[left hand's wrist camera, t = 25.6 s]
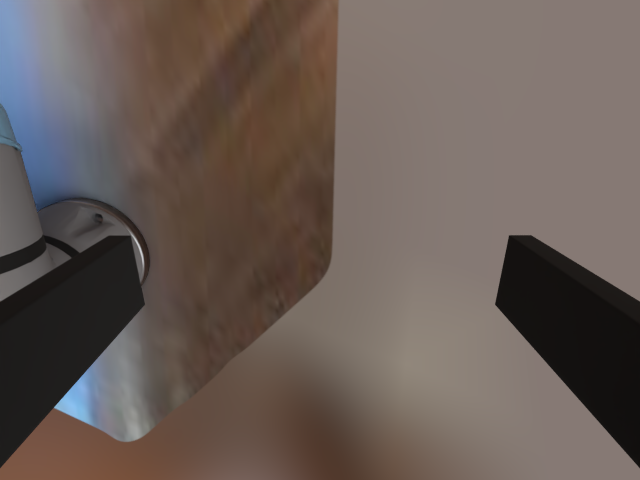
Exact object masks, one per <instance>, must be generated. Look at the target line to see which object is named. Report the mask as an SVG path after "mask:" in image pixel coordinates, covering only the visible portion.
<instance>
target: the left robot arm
mask: <svg viewBox="0 0 640 480" xmlns="http://www.w3.org/2000/svg"><path fill="white" fill-rule="evenodd" d="M21 151H22V147H21V146H20V144H18V143H17V142H16V139H15V136H14V133H13V130H12V127H11V124H10V121H9V118H8V116H7V113H6V111H5V109H4V107H3V106H2V105H1V104H0V468H1V467H2V465H3V464H4V463H5V462H6V461H7V460H8V459H9V457H10V456H11V455H12V454H13V453H14V452H15V451H16V450H17V448H18V447H19V446H20V445H21V444H22V443H23V442H24V441H25V439H26V438H27V437H28V436H29V435H30V434H31V433H32V432H33V430H34V429H35V428H36V427H37V426H38V425H39V424H40V422H41V421H42V420H43V419H44V418H45V417H46V416H47V415H48V413H49V412H50V411H51V410H52V409H53V408H54V407H55V406H56V404H57V403H58V402H59V401H60V400H61V399H62V398H63V397H64V395H65V394H66V393H67V392H68V391H69V390H70V389H71V387H72V386H73V385H74V384H75V383H76V382H77V381H78V380H79V378H80V377H81V376H82V375H83V374H84V373H85V372H86V371H87V369H88V368H89V367H90V366H91V365H92V364H93V363H94V361H95V360H96V359H97V358H98V357H99V356H100V355H101V354H102V352H103V351H104V350H105V349H106V348H107V347H108V346H109V345H110V343H111V342H112V341H113V340H114V339H115V338H116V337H117V335H118V334H119V333H120V332H121V331H122V330H123V329H124V328H125V326H126V325H127V324H128V323H129V322H130V321H131V320H132V319H133V317H134V316H135V315H136V314H137V313H138V312H139V311H140V309H141V308H142V307H143V306H144V305H145V303H144V298H143V293H142V288H141V286H142V284H143V283H144V281H145V279H146V277H147V275H148V271H149V252H148V248H147V245H146V243H145V240H144V238H143V236H142V234H141V233H140V231H139V230H138V229H137V227H136V226H135V225H134V224H133V223H132V221H131V220H130V219H128V218H127V217H126V216H125V215H124V214H123V213H121V212H120V211H118V210H117V209H115V208H113V207H111V206H109V205H107V204H105V203H102V202H100V201H96V200H92V199H85V198H73V199H67V200H63V201H60V202H57V203H54V204H51V205H49V206H47V207H45V208H43V209H41V210H40V211H38V212H37V210H36V206H35V202H34V199H33V195H32V192H31V188H30V184H29V181H28V177H27V174H26V170H25V166H24V163H23V159H22V156H21ZM495 305H496V306H497V307H498V308H499V309H500V311H501V312H502V313H503V314H504V315H505V316H506V317H507V318H508V320H509V321H510V322H511V323H512V324H513V325H514V326H515V328H516V329H517V330H518V331H519V332H520V333H521V334H522V335H523V337H524V338H525V339H526V340H527V341H528V342H529V343H530V344H531V346H532V347H533V348H534V349H535V350H536V351H537V352H538V353H539V355H540V356H541V357H542V358H543V359H544V360H545V361H546V363H547V364H548V365H549V366H550V367H551V368H552V369H553V371H554V372H555V373H556V374H557V375H558V376H559V377H560V378H561V380H562V381H563V382H564V383H565V384H566V385H567V386H568V387H569V389H570V390H571V391H572V392H573V393H574V394H575V395H576V396H577V398H578V399H579V400H580V401H581V402H582V403H583V404H584V405H585V407H586V408H587V409H588V410H589V411H590V412H591V413H592V415H593V416H594V417H595V418H596V419H597V420H598V421H599V422H600V424H601V425H602V426H603V427H604V428H605V429H606V430H607V431H608V433H609V434H610V435H611V436H612V437H613V438H614V439H615V441H616V442H617V443H618V444H619V445H620V446H621V447H622V448H623V450H624V451H625V452H626V453H627V454H628V455H629V456H630V458H631V459H632V460H633V461H634V462H635V463H636V464H637V465H638V467H639V468H640V301H638V300H636V299H635V298H633V297H631V296H630V295H628V294H627V293H625V292H623V291H622V290H620V289H618V288H617V287H615V286H613V285H612V284H610V283H608V282H607V281H605V280H604V279H602V278H600V277H599V276H597V275H595V274H594V273H592V272H590V271H589V270H587V269H585V268H584V267H582V266H581V265H579V264H577V263H576V262H574V261H572V260H571V259H569V258H567V257H566V256H564V255H562V254H561V253H559V252H558V251H556V250H554V249H553V248H551V247H549V246H548V245H546V244H544V243H543V242H541V241H540V240H538V239H536V238H535V237H533V236H531V235H510V236H509V239H508V244H507V249H506V254H505V258H504V263H503V268H502V273H501V278H500V283H499V288H498V293H497V298H496V303H495Z"/></svg>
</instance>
